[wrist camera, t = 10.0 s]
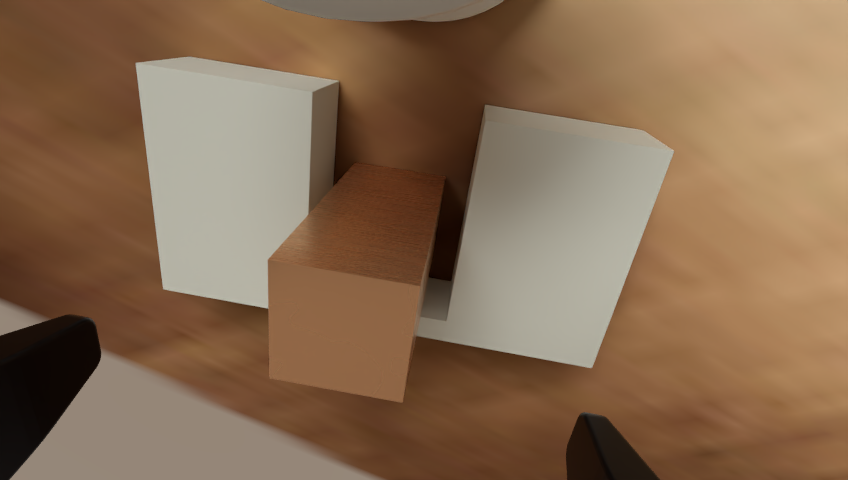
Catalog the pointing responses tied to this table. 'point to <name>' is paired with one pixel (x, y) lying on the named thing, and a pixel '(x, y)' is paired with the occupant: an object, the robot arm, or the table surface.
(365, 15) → the bobbin
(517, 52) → the table surface
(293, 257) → the copper tab
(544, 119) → the notched board
